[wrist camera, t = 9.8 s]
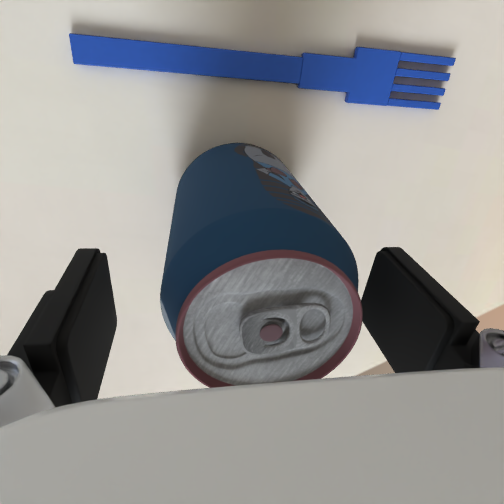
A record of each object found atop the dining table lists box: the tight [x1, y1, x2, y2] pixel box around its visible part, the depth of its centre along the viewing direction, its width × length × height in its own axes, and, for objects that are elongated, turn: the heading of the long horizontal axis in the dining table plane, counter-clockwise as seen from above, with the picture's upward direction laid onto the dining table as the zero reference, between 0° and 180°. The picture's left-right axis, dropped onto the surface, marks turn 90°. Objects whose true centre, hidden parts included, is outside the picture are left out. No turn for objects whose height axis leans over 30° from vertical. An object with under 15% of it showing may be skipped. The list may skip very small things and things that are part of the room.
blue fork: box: [69, 33, 456, 110], centre depth 17 cm, size 19×3×1 cm, turn 85°
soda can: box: [160, 143, 363, 388], centre depth 15 cm, size 7×7×12 cm
